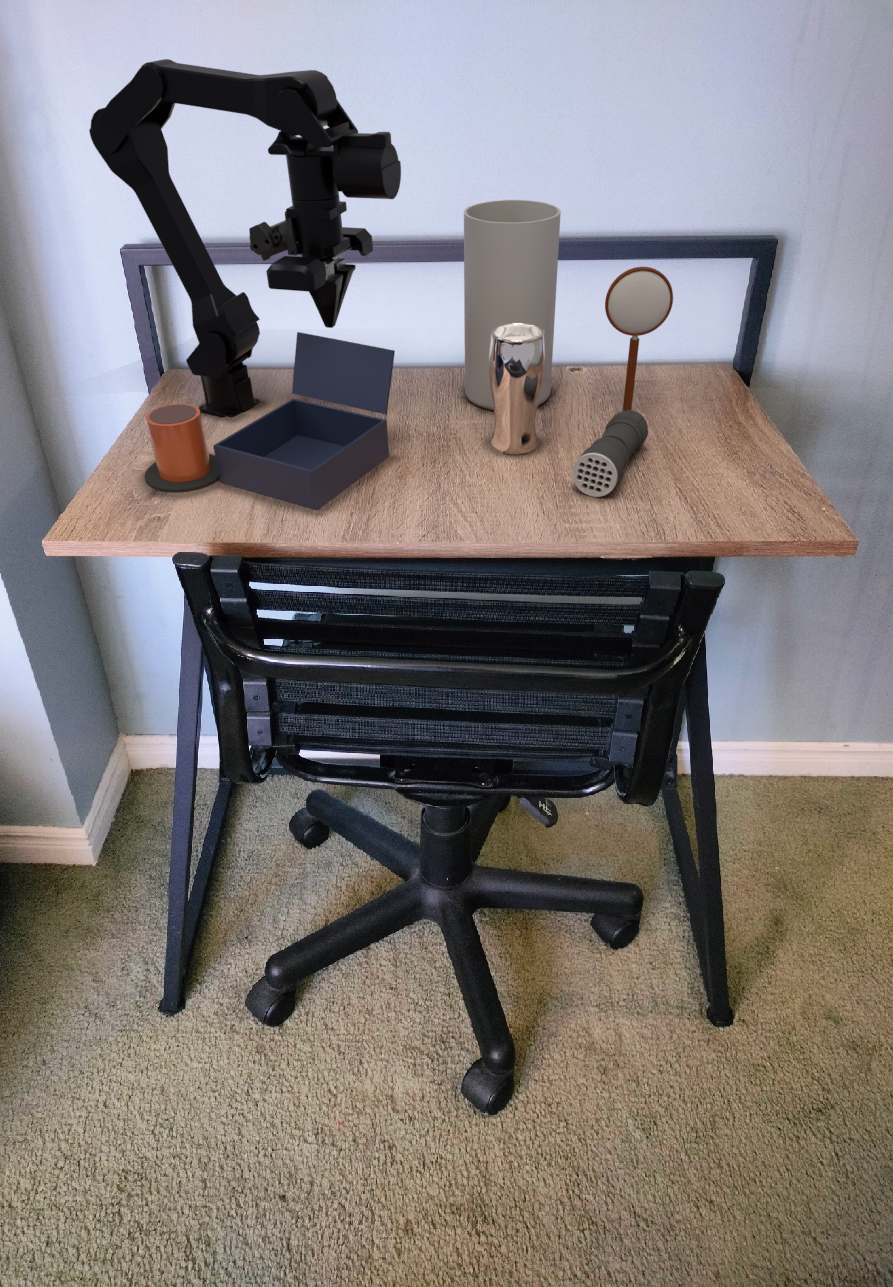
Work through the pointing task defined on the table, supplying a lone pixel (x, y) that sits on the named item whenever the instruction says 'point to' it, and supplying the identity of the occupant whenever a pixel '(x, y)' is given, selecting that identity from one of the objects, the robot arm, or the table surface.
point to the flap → (343, 372)
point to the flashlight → (610, 454)
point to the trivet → (177, 487)
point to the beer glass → (516, 384)
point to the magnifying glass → (637, 312)
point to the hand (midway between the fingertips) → (330, 326)
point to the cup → (178, 442)
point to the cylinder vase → (507, 282)
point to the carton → (302, 453)
